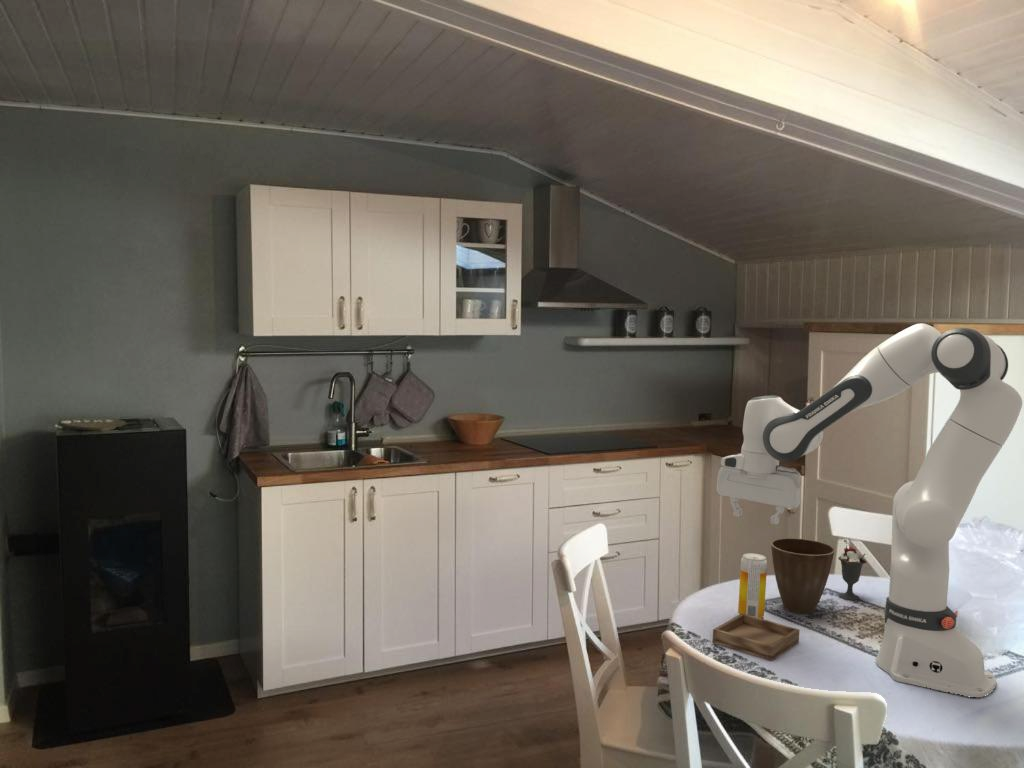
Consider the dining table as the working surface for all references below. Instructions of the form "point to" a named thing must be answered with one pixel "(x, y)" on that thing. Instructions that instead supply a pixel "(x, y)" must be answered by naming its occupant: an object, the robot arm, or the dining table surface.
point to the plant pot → (801, 572)
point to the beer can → (752, 585)
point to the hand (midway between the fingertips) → (755, 519)
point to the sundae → (851, 570)
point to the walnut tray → (756, 636)
